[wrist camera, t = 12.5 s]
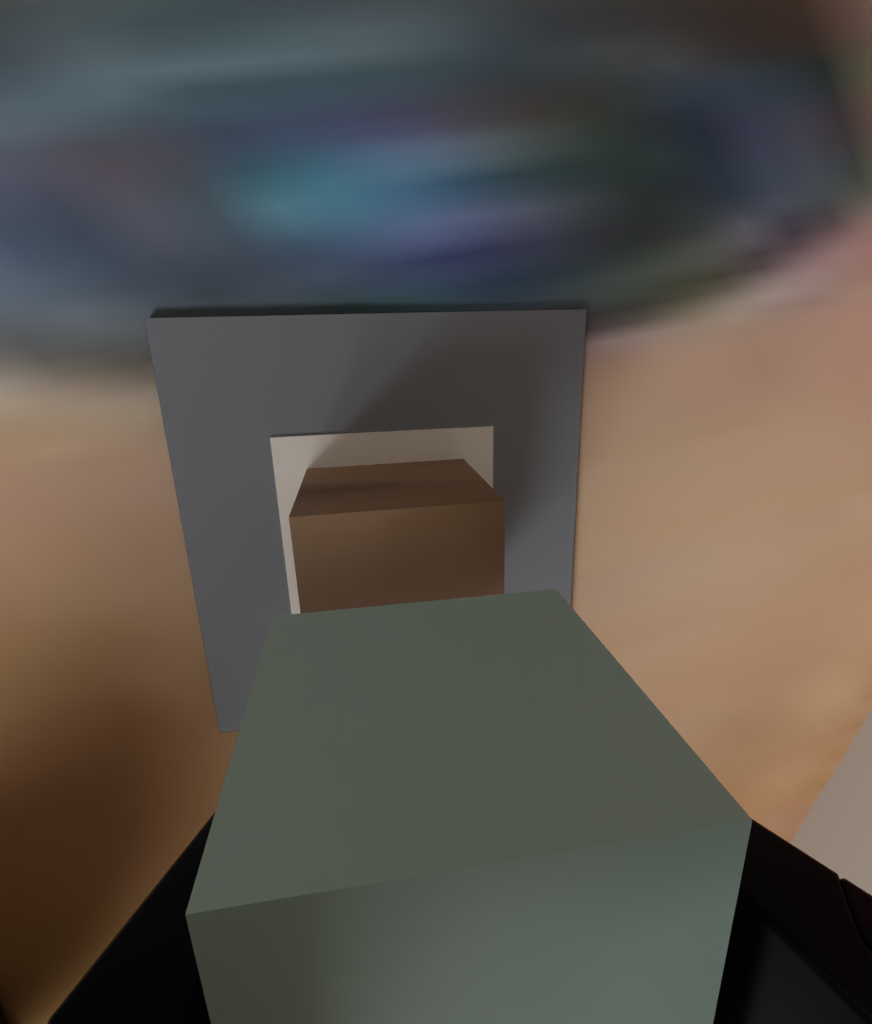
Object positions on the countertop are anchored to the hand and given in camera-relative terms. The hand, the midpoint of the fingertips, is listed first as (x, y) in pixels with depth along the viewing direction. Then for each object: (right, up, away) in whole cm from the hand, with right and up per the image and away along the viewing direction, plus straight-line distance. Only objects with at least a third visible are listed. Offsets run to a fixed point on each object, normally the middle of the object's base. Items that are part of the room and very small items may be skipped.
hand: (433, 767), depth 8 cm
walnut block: (-1, +3, +10) cm, 10 cm away
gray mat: (-1, +3, +10) cm, 11 cm away
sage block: (0, 0, +1) cm, 1 cm away
